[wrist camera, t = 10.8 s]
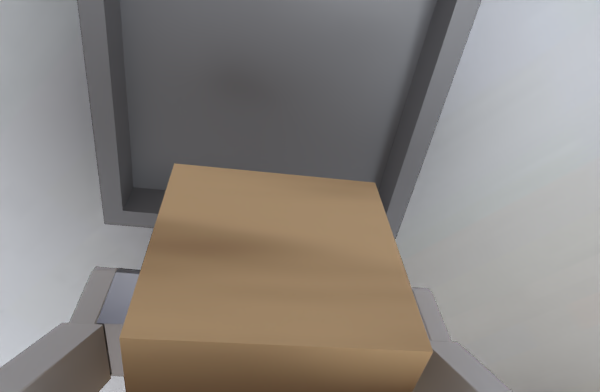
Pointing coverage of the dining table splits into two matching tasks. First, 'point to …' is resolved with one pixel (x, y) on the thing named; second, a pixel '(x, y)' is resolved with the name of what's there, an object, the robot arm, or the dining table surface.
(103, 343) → the robot arm
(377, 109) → the sorting tray
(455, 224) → the dining table surface
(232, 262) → the oversize block
